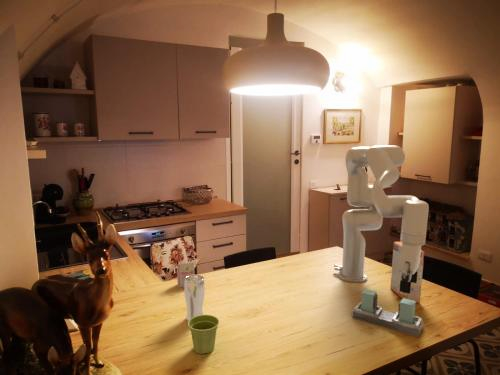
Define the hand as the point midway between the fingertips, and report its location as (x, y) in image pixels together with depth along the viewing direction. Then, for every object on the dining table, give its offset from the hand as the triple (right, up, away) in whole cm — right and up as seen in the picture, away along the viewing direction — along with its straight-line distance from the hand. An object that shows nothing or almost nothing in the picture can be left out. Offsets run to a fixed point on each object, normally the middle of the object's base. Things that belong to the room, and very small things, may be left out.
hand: (408, 286), depth 125 cm
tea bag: (-80, -9, +35) cm, 88 cm away
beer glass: (-72, -13, +7) cm, 74 cm away
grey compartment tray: (-5, -14, +5) cm, 16 cm away
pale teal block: (0, -12, +1) cm, 12 cm away
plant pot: (-67, -16, -11) cm, 70 cm away
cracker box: (+10, -11, +27) cm, 31 cm away
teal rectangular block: (-11, -11, +8) cm, 17 cm away
